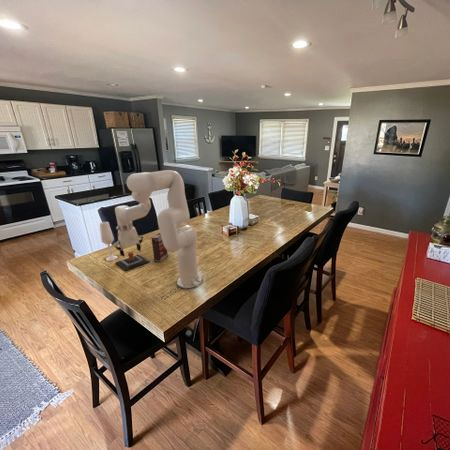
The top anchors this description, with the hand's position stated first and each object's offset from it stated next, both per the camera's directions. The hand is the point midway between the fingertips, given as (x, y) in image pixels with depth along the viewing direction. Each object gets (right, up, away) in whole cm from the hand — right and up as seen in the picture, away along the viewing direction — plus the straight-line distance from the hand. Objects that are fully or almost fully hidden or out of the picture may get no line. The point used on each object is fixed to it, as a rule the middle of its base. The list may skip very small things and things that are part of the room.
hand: (131, 253), depth 145 cm
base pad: (-1, -6, +3) cm, 7 cm away
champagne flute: (-17, -4, +8) cm, 19 cm away
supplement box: (+15, -4, +8) cm, 18 cm away
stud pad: (-1, -6, +2) cm, 6 cm away
